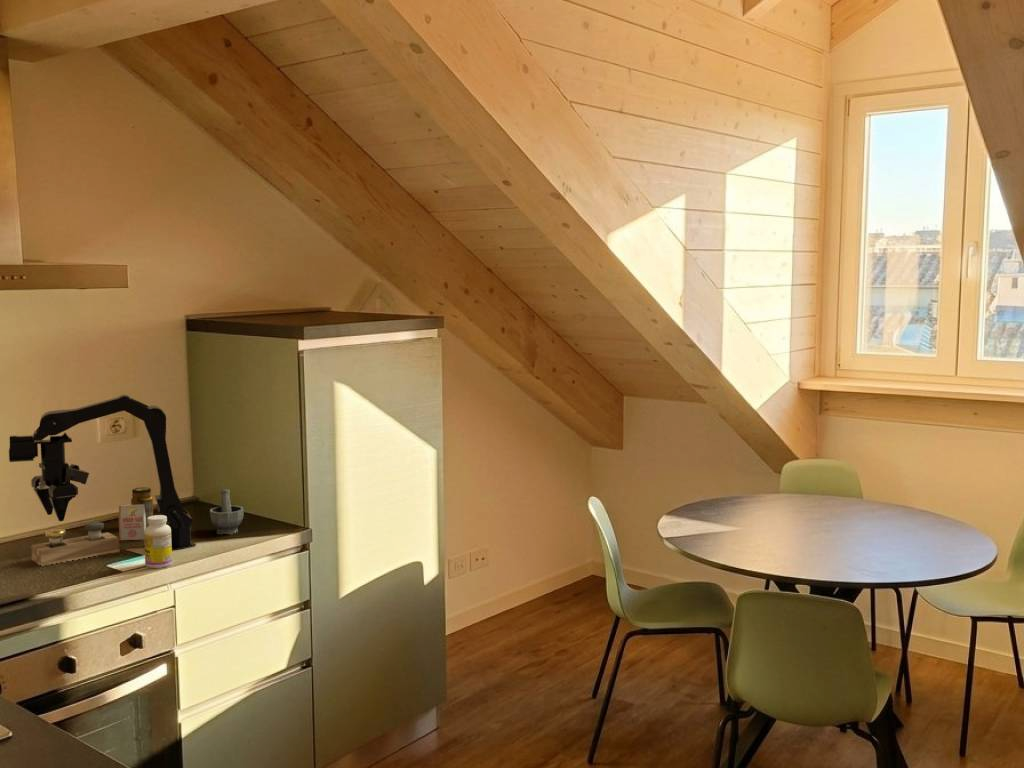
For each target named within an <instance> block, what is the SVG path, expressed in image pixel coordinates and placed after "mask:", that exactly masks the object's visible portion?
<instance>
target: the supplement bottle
mask: <svg viewBox="0 0 1024 768" xmlns="http://www.w3.org/2000/svg"><path fill="white" fill-rule="evenodd" d="M167 522H168V521H167V516H165V515H162V514H158V515H157V514H155V515H153V516H150V517H148V524H149V526H148V527H146V528H145V530H144V540H143V541H144V562H145V563H144V565H145V567H147V568H149V567H150V568H149V569H162V567H163V568H167V567H169V566H171V565H172V563H173V549H172V543H171V528H170V527H169V524H167Z"/></svg>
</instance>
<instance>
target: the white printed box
mask: <svg viewBox="0 0 1024 768" xmlns="http://www.w3.org/2000/svg"><path fill="white" fill-rule="evenodd" d="M145 528H146V515H145V507H144V505H131V504H127V505H125V504H124V505H118V538H119V541H121V540H141V541H144V530H145ZM121 542H122V541H121Z"/></svg>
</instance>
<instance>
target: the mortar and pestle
mask: <svg viewBox="0 0 1024 768" xmlns="http://www.w3.org/2000/svg"><path fill="white" fill-rule="evenodd" d="M220 494H221V506H220V505H219V506H215V507H212V508H210V509H209V515H210V521H211V523H212V525H213V526H214V527H215V528H216V534H217V535H220V534H221V535H220V536H223V535H222V534H230V535H234V534H233V533H235V534H237V533H239V529H238V527H239V526H240V525H241V524H242V522H243V519H244V513H245V512H244V511H245V510H244V506H240V505H232V504H231V495H230V494H231V490H230V489H228V488H227V489H222V490H220ZM236 532H237V533H236Z"/></svg>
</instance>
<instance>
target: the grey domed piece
mask: <svg viewBox="0 0 1024 768" xmlns="http://www.w3.org/2000/svg"><path fill="white" fill-rule="evenodd" d="M104 529H105V523H104V522H89V523H86V524H84V531H85V532H86V531H87V536H88V540H89V541H94V540H100V539H101V533H102V531H103V530H104Z"/></svg>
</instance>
